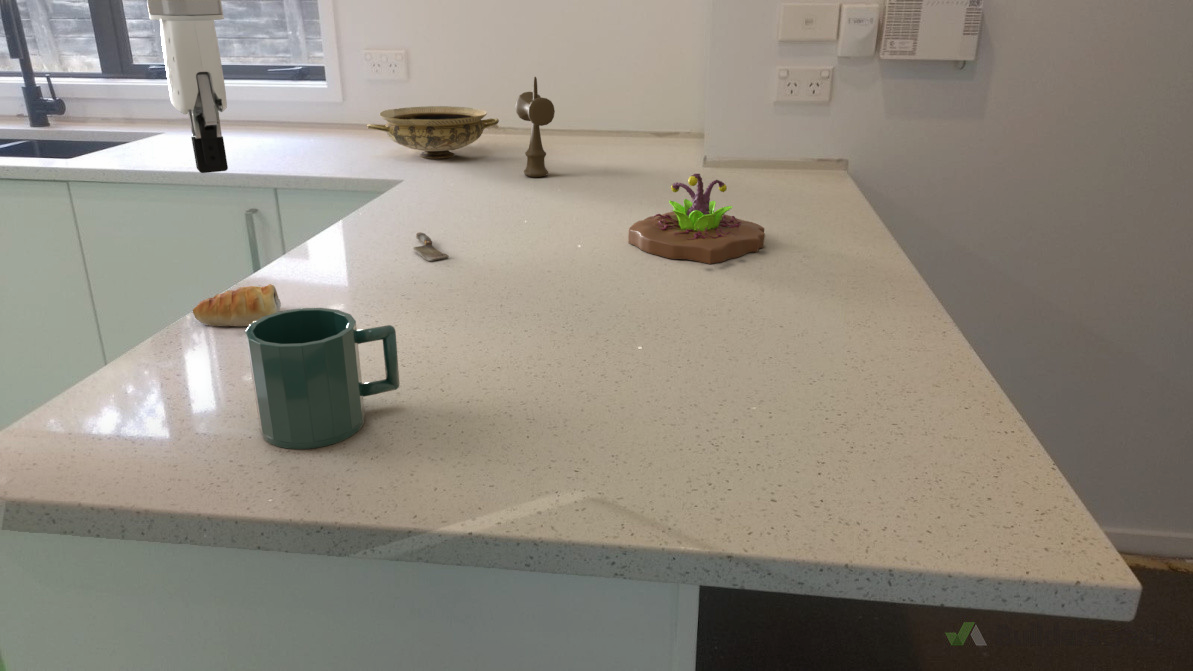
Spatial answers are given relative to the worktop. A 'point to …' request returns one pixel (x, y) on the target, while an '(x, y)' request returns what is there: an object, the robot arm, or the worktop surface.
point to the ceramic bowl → (434, 128)
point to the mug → (314, 375)
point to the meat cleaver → (428, 249)
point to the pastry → (238, 306)
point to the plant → (697, 229)
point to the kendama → (535, 127)
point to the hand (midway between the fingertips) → (212, 170)
